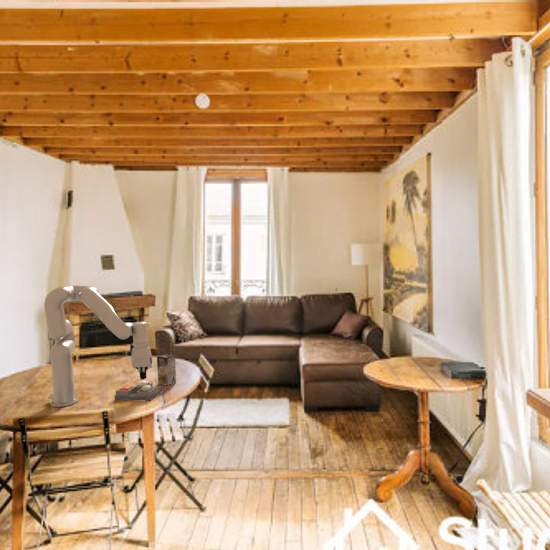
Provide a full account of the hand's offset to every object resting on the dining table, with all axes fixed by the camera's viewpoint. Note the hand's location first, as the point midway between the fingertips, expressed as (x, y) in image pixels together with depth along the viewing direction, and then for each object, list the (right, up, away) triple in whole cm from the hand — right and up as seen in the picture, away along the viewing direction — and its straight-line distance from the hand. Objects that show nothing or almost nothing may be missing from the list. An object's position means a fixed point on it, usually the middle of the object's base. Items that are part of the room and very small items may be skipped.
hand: (143, 378), depth 213 cm
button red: (-7, -5, -5) cm, 11 cm away
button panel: (-1, -8, -3) cm, 9 cm away
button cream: (0, -4, 0) cm, 4 cm away
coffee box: (+9, -7, +16) cm, 19 cm away
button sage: (+4, -4, -8) cm, 10 cm away
